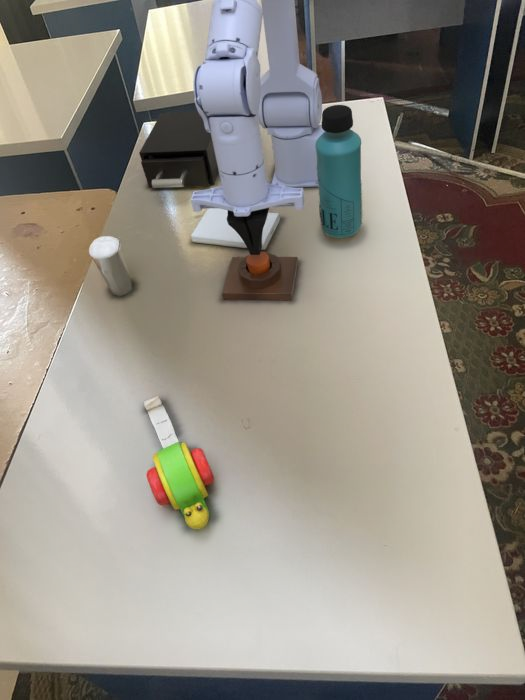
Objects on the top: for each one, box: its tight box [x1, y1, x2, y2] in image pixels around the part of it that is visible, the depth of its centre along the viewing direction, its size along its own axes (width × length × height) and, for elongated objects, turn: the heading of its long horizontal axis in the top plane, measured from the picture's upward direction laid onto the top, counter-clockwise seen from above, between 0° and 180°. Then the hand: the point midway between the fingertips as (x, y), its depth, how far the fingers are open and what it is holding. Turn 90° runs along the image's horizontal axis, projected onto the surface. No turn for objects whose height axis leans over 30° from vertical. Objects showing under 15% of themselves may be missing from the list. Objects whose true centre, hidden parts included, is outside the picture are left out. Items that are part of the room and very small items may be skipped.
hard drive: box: [190, 208, 281, 251], centre depth 92 cm, size 2×8×12 cm
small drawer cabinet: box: [138, 110, 219, 186], centre depth 106 cm, size 14×12×7 cm
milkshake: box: [88, 235, 133, 297], centre depth 83 cm, size 4×5×10 cm
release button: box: [247, 250, 270, 274], centre depth 81 cm, size 3×3×2 cm
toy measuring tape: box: [143, 395, 215, 530], centre depth 62 cm, size 6×20×7 cm, turn 24°
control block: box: [221, 251, 299, 301], centre depth 83 cm, size 10×8×3 cm
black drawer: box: [140, 154, 210, 189], centre depth 103 cm, size 18×11×5 cm, turn 171°
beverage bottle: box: [315, 104, 364, 239], centre depth 81 cm, size 6×7×20 cm
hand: (256, 250), depth 79 cm, fingers closed
